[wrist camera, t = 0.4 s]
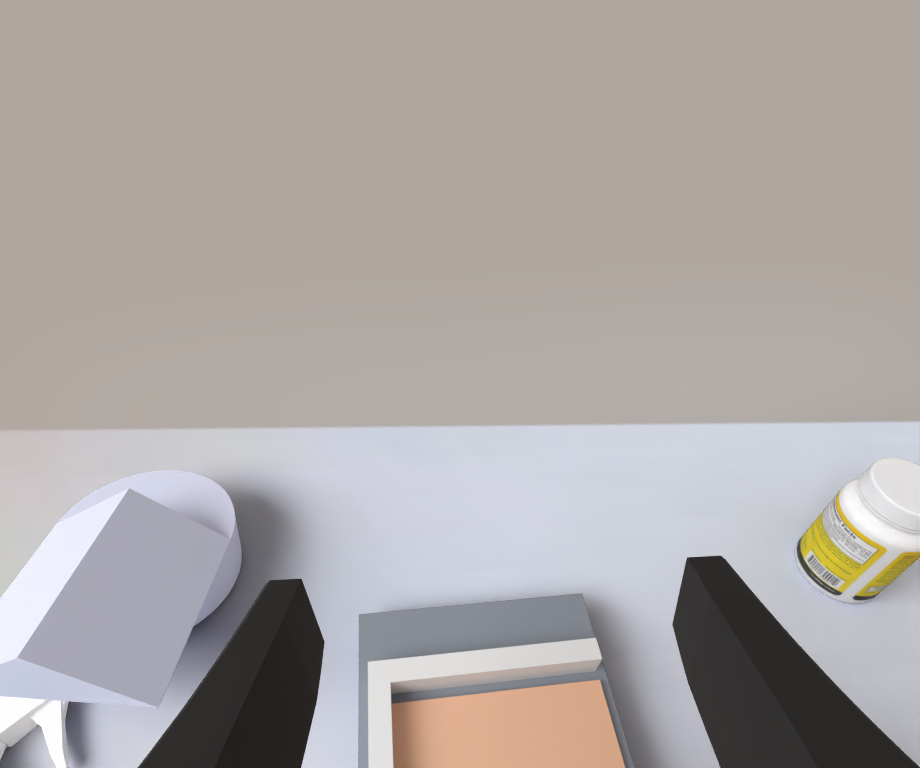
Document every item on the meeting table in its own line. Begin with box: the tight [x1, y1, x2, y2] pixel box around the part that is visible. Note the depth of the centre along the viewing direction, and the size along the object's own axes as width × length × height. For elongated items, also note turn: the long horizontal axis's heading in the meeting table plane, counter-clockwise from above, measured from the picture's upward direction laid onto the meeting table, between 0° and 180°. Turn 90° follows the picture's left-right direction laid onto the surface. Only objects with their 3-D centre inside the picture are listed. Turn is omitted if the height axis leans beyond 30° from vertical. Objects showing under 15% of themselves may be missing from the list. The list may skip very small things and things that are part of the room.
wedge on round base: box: [0, 470, 242, 708], centre depth 28 cm, size 9×7×13 cm
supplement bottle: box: [795, 458, 920, 604], centre depth 32 cm, size 5×5×8 cm
